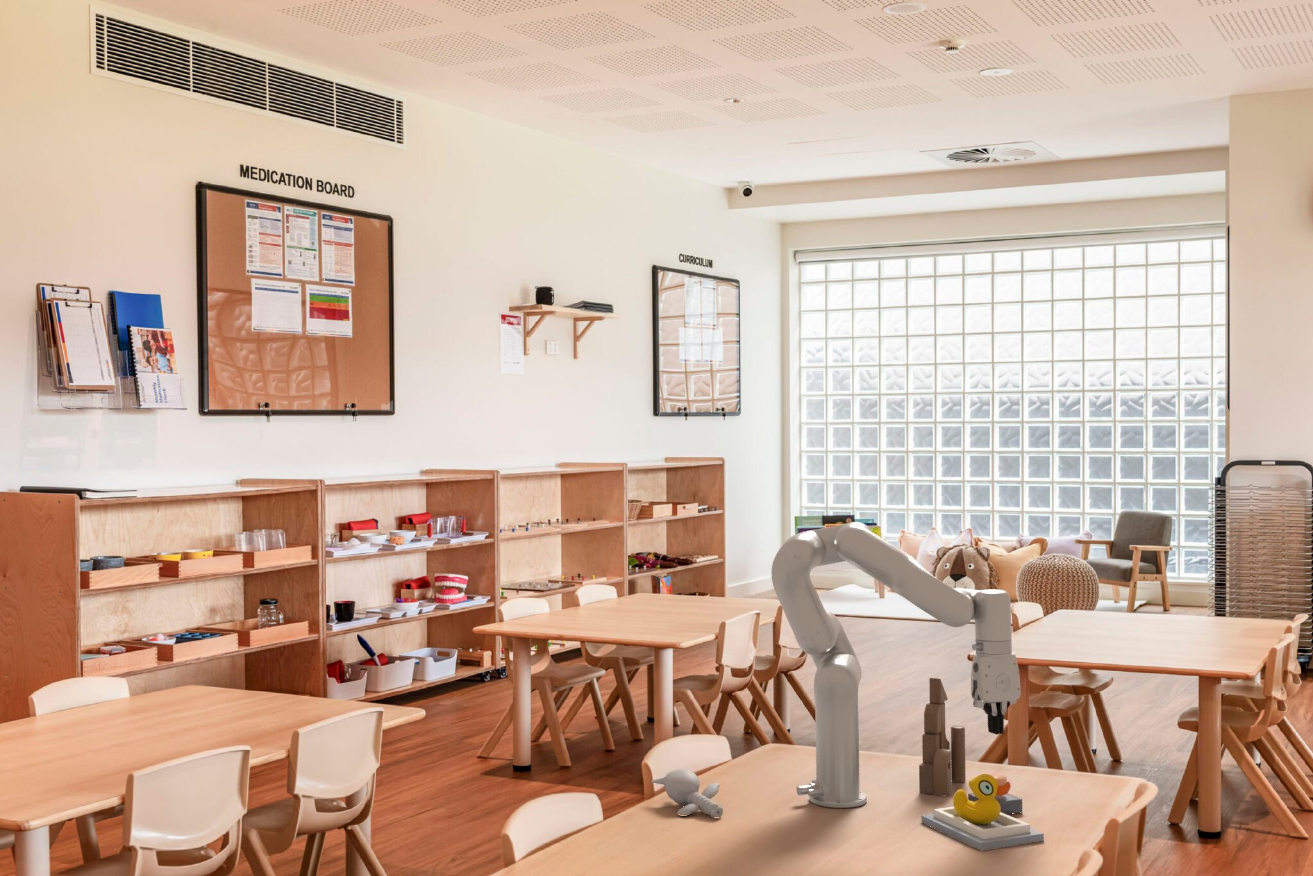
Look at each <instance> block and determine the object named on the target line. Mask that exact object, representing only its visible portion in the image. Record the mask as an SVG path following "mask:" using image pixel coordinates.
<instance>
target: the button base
mask: <svg viewBox="0 0 1313 876" xmlns="http://www.w3.org/2000/svg"><path fill="white" fill-rule="evenodd" d="M967 798H968V800H970V801H972V802H976V801H977V800H978V798H977V797H976V796H975V795H974V794H973V792H970V793H967ZM995 799H996V800H997V801H998V803H999V804H1000V807H1001V811H1000V812H1001V813H1004V814H1006V815H1008V814H1012V813H1019V814H1021V813H1020V812H1022V813H1023V798H1021V797H1019V796H1015V795H1013V794H1011V793H1009V792H1008V793H1007V794H1005V795H1003V796H997V795H996V796H995ZM1012 815H1013V814H1012Z"/></svg>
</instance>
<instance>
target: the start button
mask: <svg viewBox="0 0 1313 876" xmlns="http://www.w3.org/2000/svg"><path fill="white" fill-rule="evenodd" d="M988 775H991V776H993V777H994V778H996V780H997V781H998V785H1004V784H1006V783H1007V782H1008V778H1007V776H1006V775H1002V774H997V773H996V774H995V773H988Z"/></svg>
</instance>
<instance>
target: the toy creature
mask: <svg viewBox="0 0 1313 876" xmlns="http://www.w3.org/2000/svg"><path fill="white" fill-rule="evenodd" d="M650 782H651V783H654V784H659V785H663V786H664V790H665V792H666V794H667V797H669V798H670V799H671V800H672V801H673V802H675V803H676V804H677V805H679V806H680V807H681V808H679V809H678V810H677V812H676V815H677V814H680V815H689V816H691V815H692V814H694V813H696V812H698V811H699V810H700V811H701V812H702V813H704V815H706V814H708V815H707V816H710V817H711V818H712V817H720V818H722V816H723V813H724V808H723V806H719V804H718V803H717V802H715V801H714V800H712V798H714V797H715V796H717V794H718V792H719V789H720V785H721V784H720V783H719V782H713V783H709V784H708V785H707V786H706V787H705V788H704V789H703V791H702V793H700V792H699V788H700V779H699V776H697V774H696V773H694V772H693V771H691V770H690V769H687V768H679V769H674V770H671V771H670V772H667V774H666V775H665V776H664V777H660V778H656V779H652V780H651V781H650ZM683 806H684V807H683ZM691 813H692V814H691ZM690 814H691V815H690ZM709 814H710V815H709Z"/></svg>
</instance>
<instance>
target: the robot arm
mask: <svg viewBox="0 0 1313 876" xmlns="http://www.w3.org/2000/svg"><path fill="white" fill-rule="evenodd" d="M843 562H847V563H849V564H850V565H852V566H853V567H855V568H856V569H858V570H860V571H862V572H863V573H865V574H867V575H869V577H872V578H873V579H875V580H876V581H878V582H879V583H881V584H883V585H884V586H886V587H887V588H888V589H891V590H892V591H893V592H894V593H895V594H897V595H899V597H900V596H901V597H902V598H903V599H905V600H907V601H908V602H910V603H911V604H912V605H914V606H915V607H917V608H919V609H920V610H922V612H925V614H927V615H930V616H931V617H932V618H934V619H936V620H937V621H939V622H941V623H943V624H944V625H946V626H949V627H951V628H962V627H964V626H966V625H968V624H969V623H970V622H971V621H974V628H975V629H974V630H975V635H974V636H975V639H974V640H975V641H974V642H975V643H973V644H972V645H971V648H972V650H973V651H975V653H974V654H973V658H972V663H971V671H970V672H971V675H970V693H971V694H970V695H971V698H972V699H973V701H972V706H973V707H974V708H979V709H982V710H983V711H984V713H985V714H986V715H987V729H988V733H991V734H994V735H1003V734H1004V733H1005V732H1004V731H1005V730H1004V729H1005V723H1004V722H1005V721H1004V718H1005V717H1004V716H1005V715H1006V714H1007V710H1008V709H1009V708H1010V706H1013V705H1015V704H1016V703H1017V702H1018V699H1020V698H1021V689H1022V688H1021V677H1020V669H1019V664H1018V660H1017V655H1016V653H1015V652H1013V648H1012V647H1013V645H1012V644H1013V643H1012V641H1013V640H1012V610H1011V605H1012V602H1011V596H1010V593H1009V592H1008V591H1006V590H1004V589H990V588H989V589H981V590H977V589H970V588H969V589H968V588H961V587H952V586H949V585H948V584H946V583H945V582H943V581H941V580H940V579H939V578H937V577H936V576H934V575H932V574H931V573H930V572H928V570H926V569H925V568H924V567H923V566H922V565H921V564H920V563H919V562H918V561H917V560H916V558H914V556H911V555H910V554H909V553H907V552H906V551H904V550H902V549H900V548H899V547H897V546H895V545H894V544H892V543H891V542H888V541H887V540H885V539H884V538H883V537H881V536H879V535H877V534H876V533H875V532H873V530H872V529H871V528H870V527H869V526H868V525H867V524H865V523H864V522H859V521H851V522H848V523H843V524H838V525H834V526H827V527H823V528H821V527H820V528H818V529H817V528H816V529H811V530H806V531H802V532H798V533H797V534H794V535H792V536H791V537H789V538H788V539H786V540H785V542H783V544H782V545H781V547H780V548H779V549H778V551H777V553H776V554H775V557H774V559H773V561H772V566H771V581H772V585H773V589H774V592H775V594H776V597H777V599H778V601H779V602H780V606H781V608H782V610H783V612H784V615H785V617H786V619H787V621H788V624H789V626H790V628H791V630H792V632H793V635H794V637H795V639H796V642H797V644H798V646H799V648H800V649H801V650H802V651H803V652H804V653H806V654H807V655H809V656H811V659H812V660H813V663H814V665H815V667H816V671H815V675H814V678H813V679H814V680H813V696H814V708H815V710H814V711H815V762H816V763H815V765H816V766H815V771H816V774H815V775H816V776H815V777H816V778H813V779H811V783H809V784H808V785H799V786H797V787H796V794H797V795H798V796H805V795H807V796H808V797H809V801H810V802H811V803H813V804H814V805H818V806H820V807H825V808H826V807H827V808H835V809H843V808H844V809H849V808H855V807H860V806H863V805H865V804H866V803H867V801H868V798H867V794H865V793H864V791H863V792H862V791H860V790H861V789H860V785H861V784H860V721H859V720H860V719H859V718H860V717H859V715H860V714H859V713H860V712H859V685H860V682H861V679H862V666H861V664H860V661H859V659H858V656H857V655H856V652H855V651H854V648H853V646H852V645H851V641H850V639H849V638H848V636H847V634H846V631H845V630H844V628H843V625H842V624H841V621H840V620H839V618H838V617H837V616H836V615H835V614H834V613H833V612H832V611H830V610H828V609H825V607H824V605H823V602H822V601H821V599H820V596H819V594H818V592H817V590H816V588H815V586H814V584H813V582H812V579H811V571H812V570H813V569H814V568H817V567H821V566H825V565H832V564H837V563H838V564H839V563H843Z"/></svg>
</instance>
